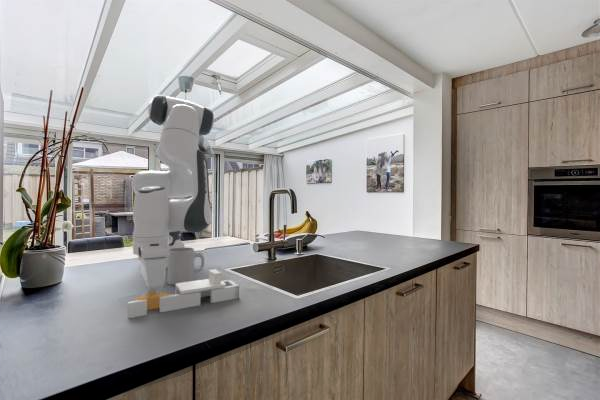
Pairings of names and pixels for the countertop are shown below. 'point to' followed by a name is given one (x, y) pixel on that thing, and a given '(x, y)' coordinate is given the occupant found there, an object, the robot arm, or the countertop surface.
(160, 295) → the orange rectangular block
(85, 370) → the countertop surface
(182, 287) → the cover
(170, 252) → the mug
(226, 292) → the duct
